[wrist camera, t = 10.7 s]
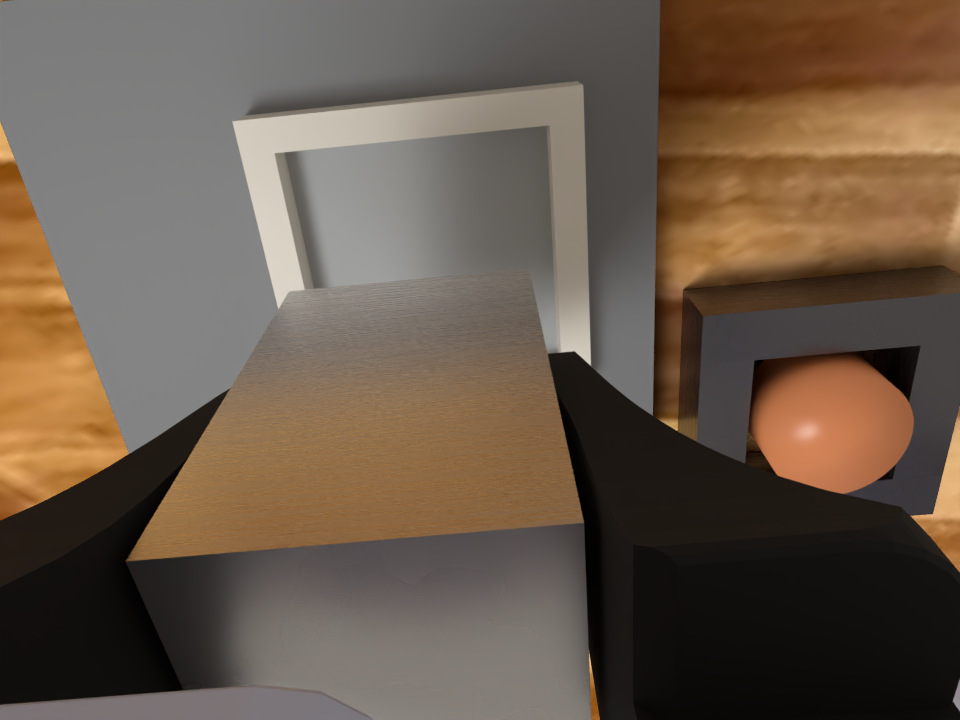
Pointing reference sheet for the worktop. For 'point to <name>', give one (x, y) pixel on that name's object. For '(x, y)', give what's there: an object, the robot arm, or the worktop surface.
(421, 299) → the block
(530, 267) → the board
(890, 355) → the button collar
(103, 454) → the worktop surface
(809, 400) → the button
